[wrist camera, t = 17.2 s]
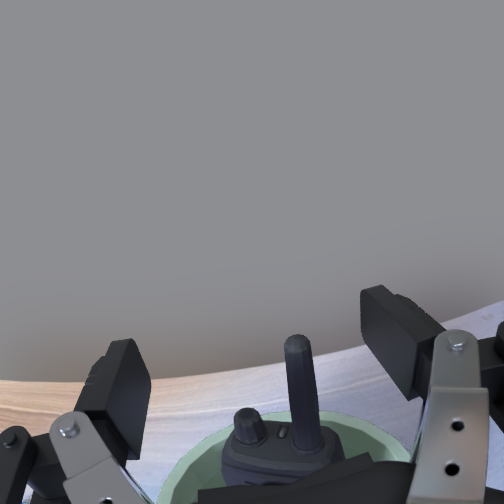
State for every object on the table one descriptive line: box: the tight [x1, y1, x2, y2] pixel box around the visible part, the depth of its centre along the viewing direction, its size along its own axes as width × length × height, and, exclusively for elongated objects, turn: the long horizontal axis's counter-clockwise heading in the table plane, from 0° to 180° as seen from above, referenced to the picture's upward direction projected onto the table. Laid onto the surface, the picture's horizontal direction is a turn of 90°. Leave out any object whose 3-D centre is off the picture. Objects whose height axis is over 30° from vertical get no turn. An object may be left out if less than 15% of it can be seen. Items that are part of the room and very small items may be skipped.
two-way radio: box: [221, 334, 346, 486], centre depth 11 cm, size 6×4×15 cm
